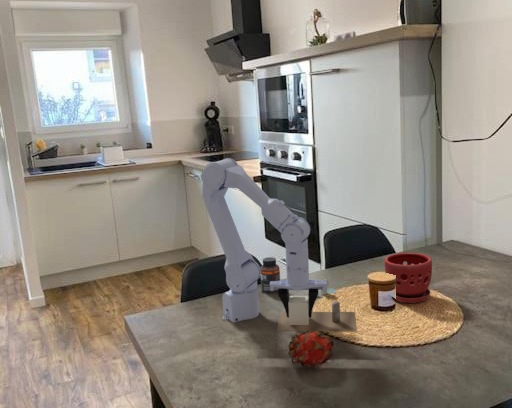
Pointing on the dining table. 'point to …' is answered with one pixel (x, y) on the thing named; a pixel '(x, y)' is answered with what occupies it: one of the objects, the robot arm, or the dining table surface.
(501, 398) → the dining table surface
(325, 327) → the post board
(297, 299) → the white hollow block
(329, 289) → the pacifier
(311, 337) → the dragon fruit
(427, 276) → the plant pot
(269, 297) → the dining table surface
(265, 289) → the supplement bottle
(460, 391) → the dining table surface
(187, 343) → the dining table surface
